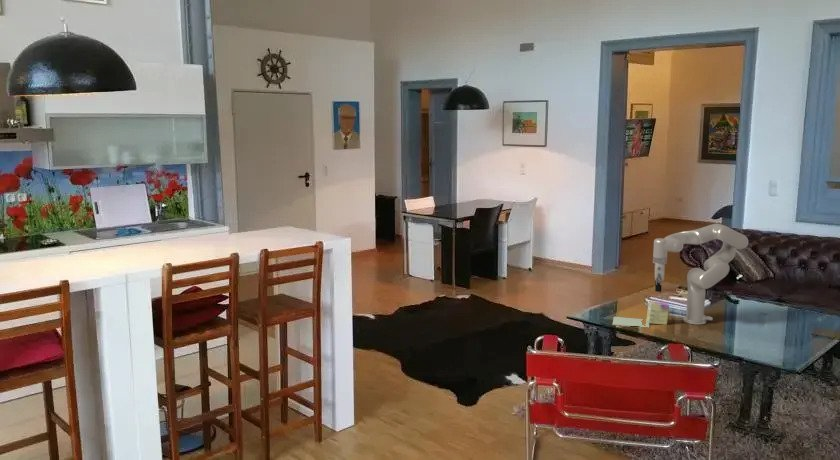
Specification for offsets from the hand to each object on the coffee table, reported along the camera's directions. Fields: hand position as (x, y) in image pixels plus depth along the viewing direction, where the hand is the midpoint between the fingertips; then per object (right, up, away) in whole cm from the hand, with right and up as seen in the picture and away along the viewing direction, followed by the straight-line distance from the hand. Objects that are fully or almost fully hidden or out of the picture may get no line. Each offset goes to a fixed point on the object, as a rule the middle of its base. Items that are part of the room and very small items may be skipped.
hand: (658, 289), depth 385 cm
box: (0, -20, +4) cm, 20 cm away
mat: (-14, -20, +5) cm, 25 cm away
